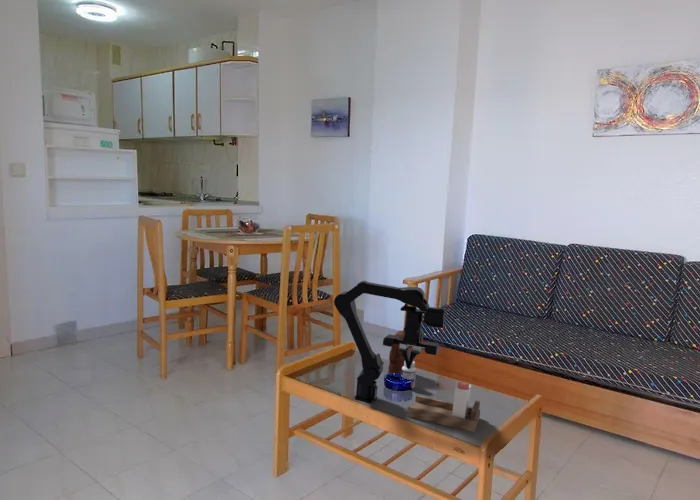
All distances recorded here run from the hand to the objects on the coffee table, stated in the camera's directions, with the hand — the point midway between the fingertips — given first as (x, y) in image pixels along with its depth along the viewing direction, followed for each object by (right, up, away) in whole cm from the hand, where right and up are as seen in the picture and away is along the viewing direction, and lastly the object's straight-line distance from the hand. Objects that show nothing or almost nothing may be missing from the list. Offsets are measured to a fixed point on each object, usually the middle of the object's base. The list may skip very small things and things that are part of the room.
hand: (408, 368), depth 176 cm
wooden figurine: (-1, -10, +32) cm, 34 cm away
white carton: (+16, -14, -8) cm, 23 cm away
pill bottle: (+2, -12, +19) cm, 23 cm away
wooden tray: (+11, -15, -6) cm, 19 cm away
